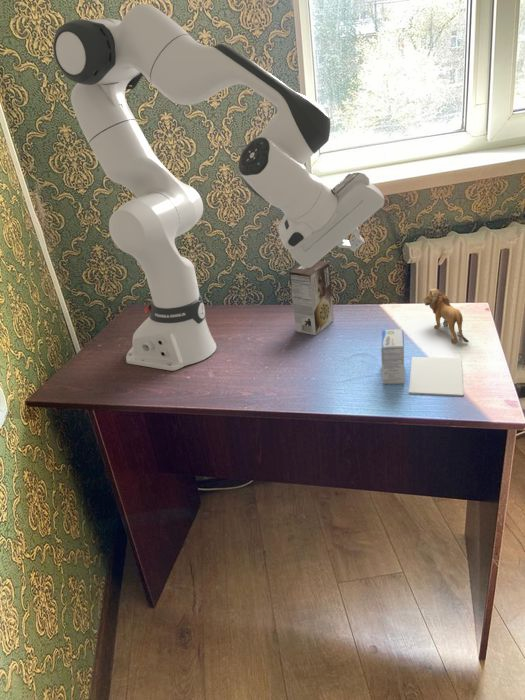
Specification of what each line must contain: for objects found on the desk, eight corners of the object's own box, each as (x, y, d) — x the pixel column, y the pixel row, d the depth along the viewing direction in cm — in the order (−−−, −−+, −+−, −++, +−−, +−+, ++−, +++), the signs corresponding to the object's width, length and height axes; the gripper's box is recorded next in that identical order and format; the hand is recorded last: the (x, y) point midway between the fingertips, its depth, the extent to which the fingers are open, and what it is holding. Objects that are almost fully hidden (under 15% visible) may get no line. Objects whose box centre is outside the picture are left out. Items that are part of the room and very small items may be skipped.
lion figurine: (419, 323, 131) (419, 289, 126) (438, 317, 132) (439, 283, 128) (458, 347, 118) (460, 310, 114) (478, 341, 119) (481, 304, 115)
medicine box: (404, 384, 108) (404, 346, 104) (382, 384, 109) (381, 347, 105) (403, 364, 115) (403, 328, 111) (382, 364, 116) (381, 329, 112)
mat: (408, 393, 105) (408, 392, 105) (412, 358, 117) (412, 356, 116) (463, 396, 102) (463, 394, 102) (460, 359, 114) (461, 358, 113)
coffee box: (313, 316, 141) (308, 258, 134) (334, 320, 138) (330, 261, 130) (294, 331, 135) (287, 271, 128) (316, 336, 132) (311, 274, 124)
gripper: (352, 157, 96) (395, 200, 104) (272, 232, 105) (317, 266, 114) (362, 176, 92) (406, 219, 100) (277, 252, 101) (324, 286, 109)
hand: (358, 245), depth 107 cm, fingers closed
